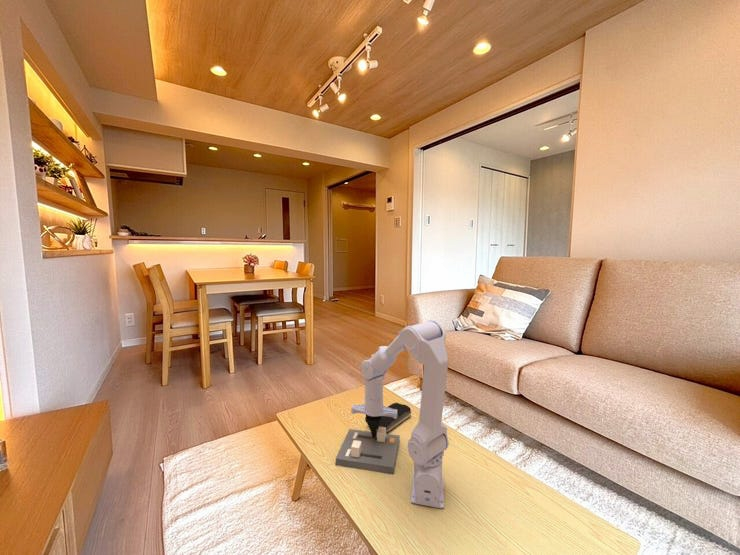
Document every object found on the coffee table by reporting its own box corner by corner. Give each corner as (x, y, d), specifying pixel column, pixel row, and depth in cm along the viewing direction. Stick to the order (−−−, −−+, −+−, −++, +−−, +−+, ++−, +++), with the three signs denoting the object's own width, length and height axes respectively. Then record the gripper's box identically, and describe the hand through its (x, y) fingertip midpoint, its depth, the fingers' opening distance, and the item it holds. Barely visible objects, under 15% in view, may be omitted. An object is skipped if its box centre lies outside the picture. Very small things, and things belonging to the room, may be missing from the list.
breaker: (359, 457, 86) (358, 448, 86) (351, 456, 87) (351, 446, 86) (361, 450, 89) (361, 441, 89) (354, 449, 90) (353, 440, 89)
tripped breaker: (384, 442, 92) (384, 433, 92) (377, 441, 93) (377, 432, 93) (386, 436, 95) (386, 427, 95) (378, 435, 96) (378, 426, 96)
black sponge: (383, 437, 98) (383, 427, 98) (366, 427, 104) (365, 417, 104) (413, 417, 110) (413, 407, 109) (395, 408, 116) (395, 399, 115)
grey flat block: (393, 474, 83) (393, 467, 82) (335, 464, 86) (335, 458, 86) (399, 441, 96) (399, 435, 96) (349, 434, 100) (349, 428, 100)
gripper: (398, 391, 95) (398, 430, 97) (355, 387, 98) (355, 425, 100) (395, 403, 88) (395, 445, 90) (349, 398, 92) (350, 438, 93)
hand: (374, 435), depth 95 cm, fingers closed
